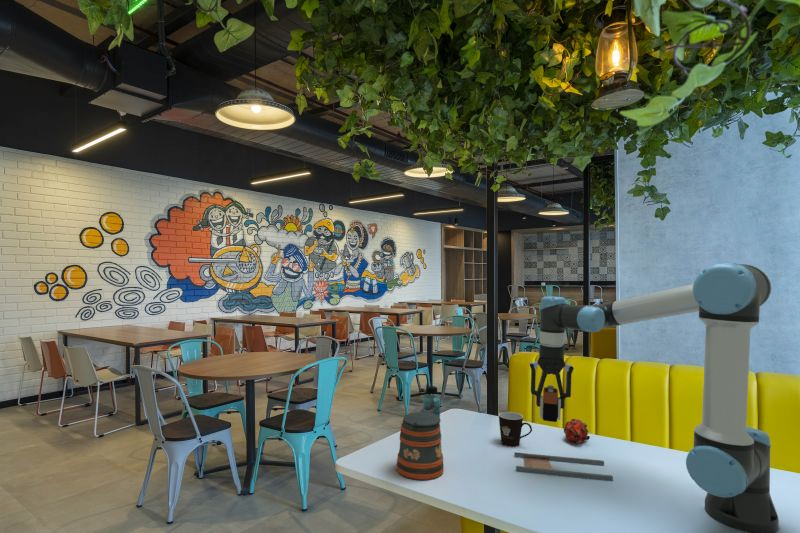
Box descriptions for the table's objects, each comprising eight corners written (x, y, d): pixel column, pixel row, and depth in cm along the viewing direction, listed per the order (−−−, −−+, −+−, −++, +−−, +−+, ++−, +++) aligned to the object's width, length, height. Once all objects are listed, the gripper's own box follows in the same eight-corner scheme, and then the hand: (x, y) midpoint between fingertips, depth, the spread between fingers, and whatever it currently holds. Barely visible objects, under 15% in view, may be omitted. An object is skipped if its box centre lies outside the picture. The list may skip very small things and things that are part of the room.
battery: (556, 416, 148) (557, 385, 148) (557, 422, 141) (558, 390, 141) (542, 414, 149) (543, 384, 149) (542, 420, 143) (543, 389, 143)
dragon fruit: (576, 439, 173) (579, 456, 162) (557, 425, 174) (558, 440, 163) (591, 424, 171) (594, 439, 159) (572, 409, 172) (574, 424, 161)
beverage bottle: (419, 444, 161) (420, 388, 161) (424, 438, 167) (425, 383, 168) (437, 447, 159) (438, 390, 159) (441, 440, 165) (442, 385, 166)
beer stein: (408, 452, 154) (409, 393, 154) (451, 458, 149) (452, 398, 150) (390, 476, 136) (391, 409, 136) (437, 484, 131) (438, 415, 132)
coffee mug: (493, 440, 166) (493, 413, 166) (512, 437, 169) (512, 410, 170) (513, 452, 155) (514, 423, 155) (533, 449, 159) (534, 420, 159)
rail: (612, 480, 135) (612, 476, 135) (516, 471, 141) (516, 467, 141) (603, 464, 147) (603, 460, 147) (514, 455, 153) (514, 452, 153)
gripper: (579, 344, 147) (577, 416, 147) (522, 341, 151) (520, 411, 151) (583, 348, 140) (581, 424, 140) (523, 344, 144) (521, 418, 144)
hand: (549, 417), depth 145 cm, fingers closed on battery, 5 cm apart
